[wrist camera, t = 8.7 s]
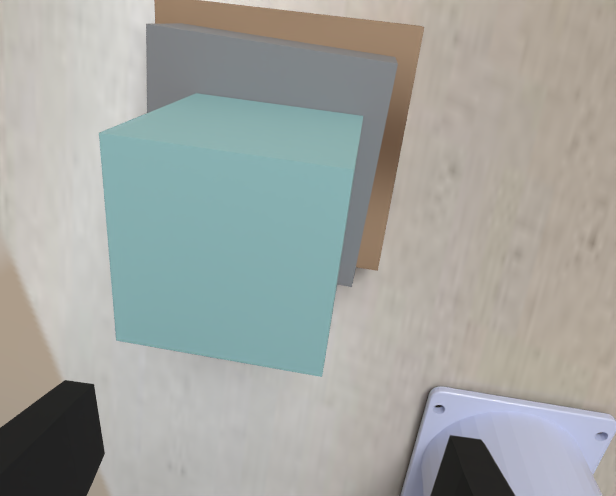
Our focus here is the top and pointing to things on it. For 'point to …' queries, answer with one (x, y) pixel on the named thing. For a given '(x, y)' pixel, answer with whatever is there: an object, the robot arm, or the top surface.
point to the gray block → (280, 91)
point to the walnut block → (340, 34)
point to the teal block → (229, 227)
